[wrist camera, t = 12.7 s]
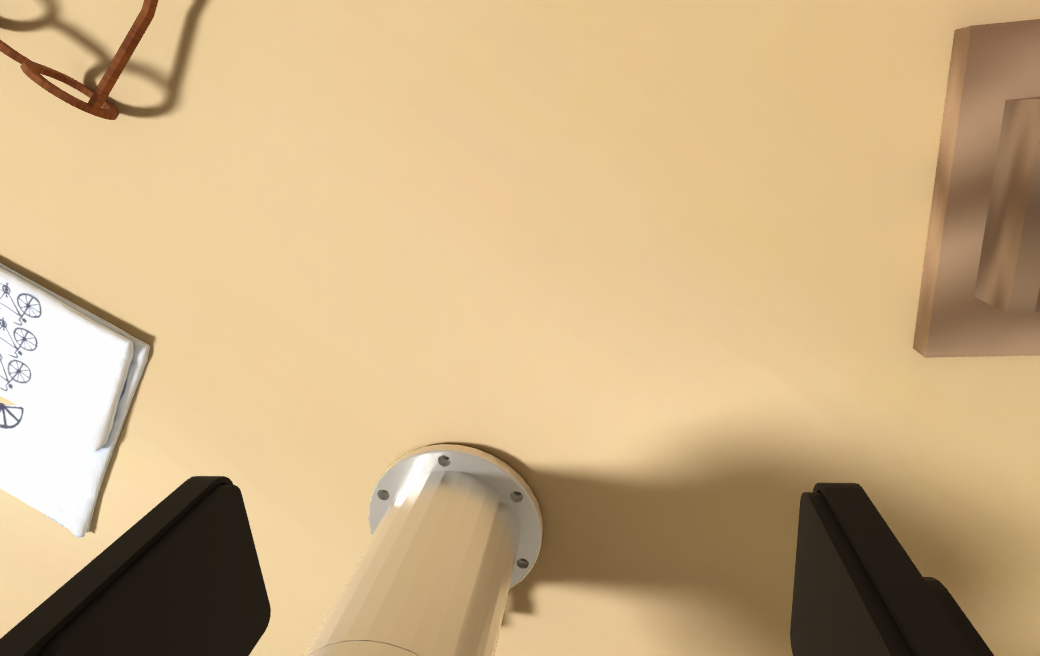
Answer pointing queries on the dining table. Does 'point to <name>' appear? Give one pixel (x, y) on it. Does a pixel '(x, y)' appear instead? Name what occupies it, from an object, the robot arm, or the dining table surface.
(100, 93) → the glasses
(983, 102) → the caddy
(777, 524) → the dining table surface
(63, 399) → the open book
